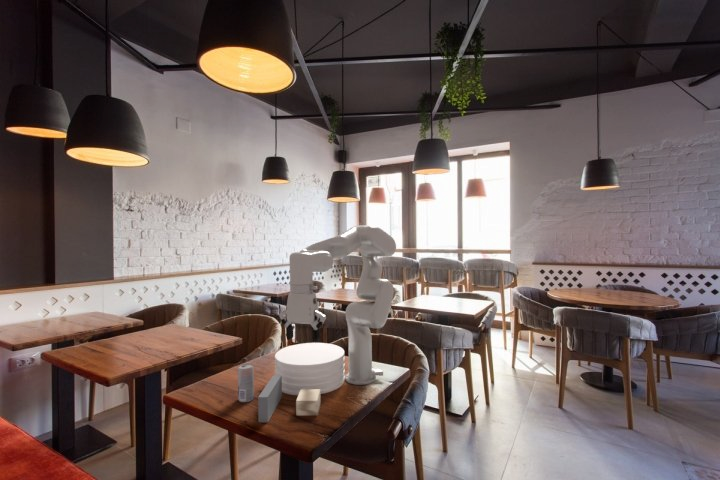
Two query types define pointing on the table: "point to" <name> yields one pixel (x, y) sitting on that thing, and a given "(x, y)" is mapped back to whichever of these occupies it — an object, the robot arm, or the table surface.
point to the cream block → (308, 402)
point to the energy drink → (245, 383)
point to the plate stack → (310, 367)
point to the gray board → (269, 398)
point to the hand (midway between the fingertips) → (302, 339)
